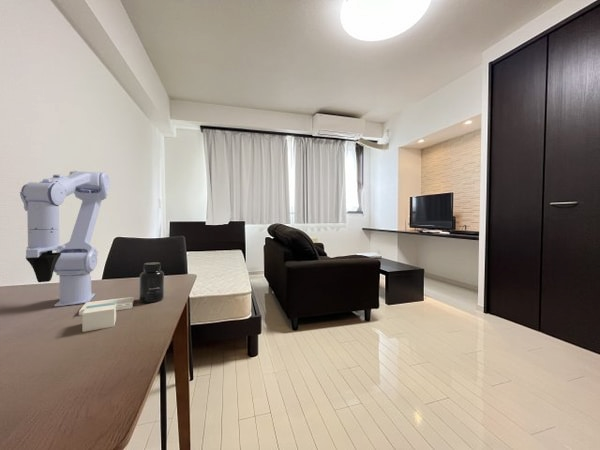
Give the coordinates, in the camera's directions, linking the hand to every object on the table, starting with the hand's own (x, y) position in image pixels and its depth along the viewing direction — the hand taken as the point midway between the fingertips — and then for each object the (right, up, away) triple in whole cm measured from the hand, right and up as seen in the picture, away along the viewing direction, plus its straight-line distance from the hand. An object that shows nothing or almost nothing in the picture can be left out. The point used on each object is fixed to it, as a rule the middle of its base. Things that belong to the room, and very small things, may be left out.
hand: (44, 281), depth 66 cm
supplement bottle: (+18, -10, +16) cm, 27 cm away
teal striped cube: (+16, -10, -2) cm, 20 cm away
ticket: (+10, -10, +9) cm, 17 cm away
